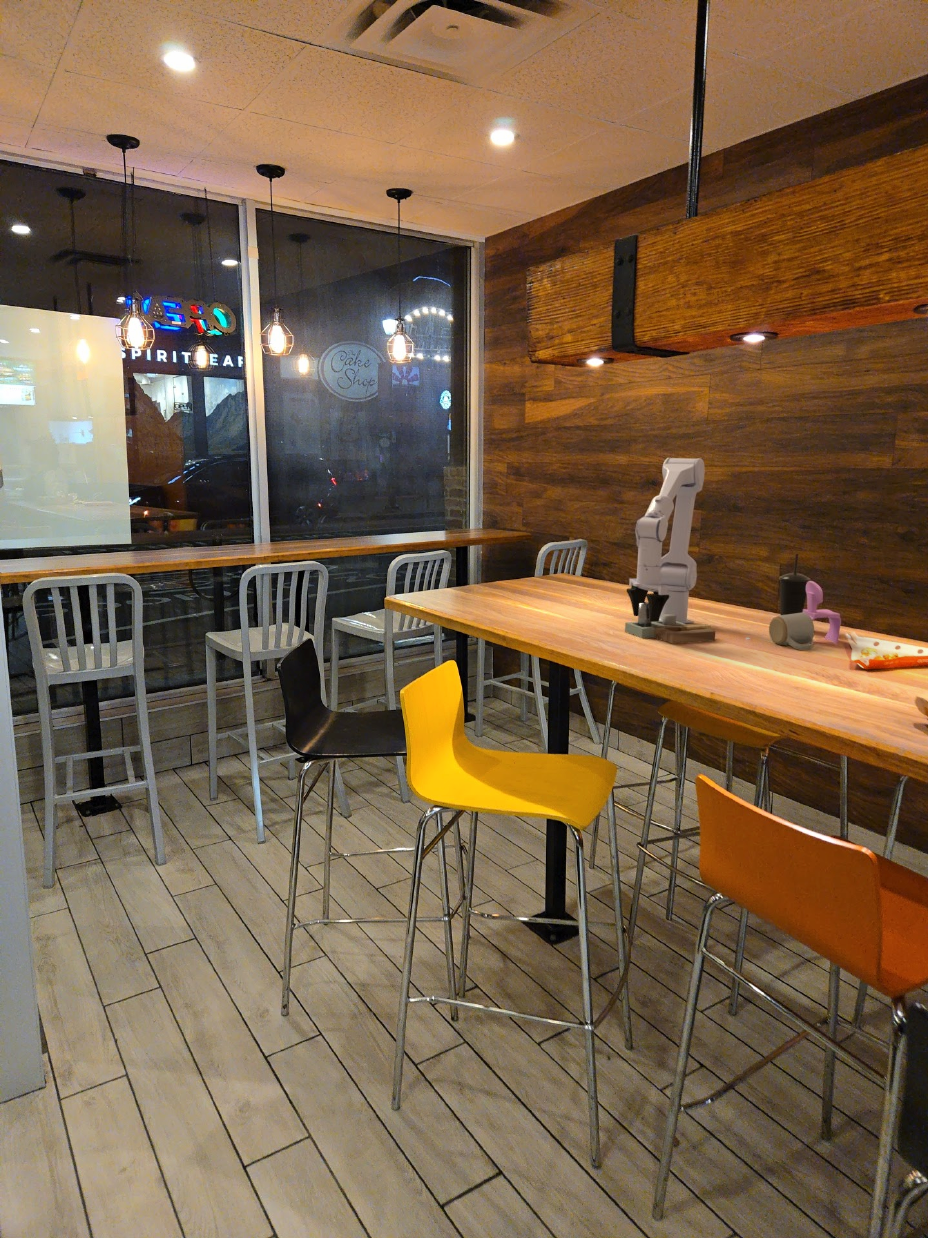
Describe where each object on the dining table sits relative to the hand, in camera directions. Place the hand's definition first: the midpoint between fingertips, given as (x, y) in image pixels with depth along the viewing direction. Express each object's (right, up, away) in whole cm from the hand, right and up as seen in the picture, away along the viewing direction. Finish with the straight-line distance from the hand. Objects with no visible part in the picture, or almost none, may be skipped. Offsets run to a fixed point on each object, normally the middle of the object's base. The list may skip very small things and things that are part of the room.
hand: (646, 618), depth 212 cm
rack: (+3, -4, +2) cm, 5 cm away
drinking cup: (+41, -3, +10) cm, 42 cm away
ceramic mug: (+34, -7, -9) cm, 36 cm away
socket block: (+8, -5, -3) cm, 10 cm away
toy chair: (+42, -6, -4) cm, 42 cm away
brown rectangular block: (+12, -5, -2) cm, 13 cm away
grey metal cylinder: (0, -4, +1) cm, 4 cm away
